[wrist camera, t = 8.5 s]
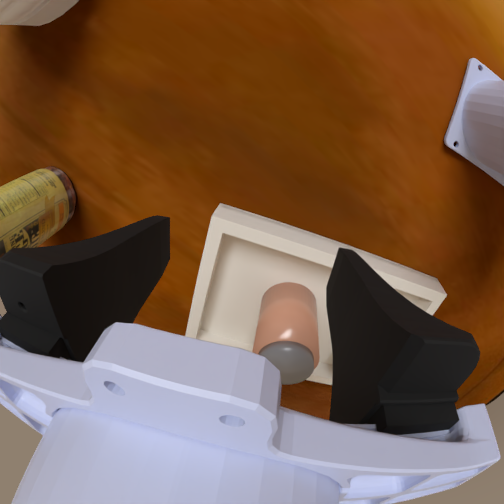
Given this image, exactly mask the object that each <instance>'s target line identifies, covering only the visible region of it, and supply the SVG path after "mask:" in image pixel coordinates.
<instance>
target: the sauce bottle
mask: <svg viewBox="0 0 504 504" xmlns="http://www.w3.org/2000/svg"><path fill="white" fill-rule="evenodd" d="M75 204H76V193H75V191H74V190H73V186H72V183H71V181H70V180H69V178H68V177H67V175H66V174H65V173H64V172H63V171H61V170H60V169H57V168H55V167H46V168H44V169H38V170H36V171H33V172H31V173H29V174H27V175H24V176H22V177H20V178H18V179H16V180H14V181H12V182H9V183H7V184H5V185H3V186H1V187H0V258H1V257H2V256H3V255H4V254H6V253H7V252H8V251H9V250H10V249H12V248H36V247H38V246H39V245H40V244H42V243H43V242H44V241H45V240H47V239H48V238H49V237H51V236H52V235H53V234H55V233H56V232H57V231H59V230H60V229H61V228H62V227H63V226H64V225H65V224H66V223H68V221H69V220H70V219H71V218H72V216H73V213H74V210H75Z"/></svg>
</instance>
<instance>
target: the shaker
mask: <svg viewBox="0 0 504 504" xmlns="http://www.w3.org/2000/svg"><path fill="white" fill-rule="evenodd" d="M252 352H253V353H256V354H258V355H261V356H264V357H265V358H266V359H268V360H269V361H270V362H271V363H272V364H273V365H274V366H275V367H276V368H277V369H278V370H279V371H280V375H281V384H295V383H299V382H302V381H304V380H306V379H307V378H309V377H310V376H311V374H312V373H313V371H314V369H315V368H316V367H317V365H318V363H319V359H320V356H319V336H318V319H317V304H316V298H315V296H314V294H313V293H312V292H311V291H310V290H309V289H308V288H307V287H305V286H303V285H301V284H298V283H293V282H284V283H279V284H276V285H274V286H272V287H270V288H269V289H268V290H267V291H266V292H265V293H264V295H263V297H262V300H261V305H260V311H259V317H258V323H257V328H256V334H255V340H254V346H253V351H252Z"/></svg>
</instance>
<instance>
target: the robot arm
mask: <svg viewBox="0 0 504 504" xmlns="http://www.w3.org/2000/svg"><path fill="white" fill-rule="evenodd" d="M478 65H479V67H480V70H479V69H478ZM455 141H456V146H455V147H454V145H453V144H454V142H455ZM444 143H445V145H446V146H447V147H449V148H451V149H452V150H454V151H455V152H457V153H458V154H460V155H461V156H463V157H464V158H466V159H467V160H469V161H470V162H472V163H473V164H475V165H476V166H477V167H479V168H480V169H482V170H483V171H484V172H486V173H487V174H488V175H490V176H491V177H492V178H494V179H495V180H496V181H498V182H499V183H500V184H501V185H503V186H504V81H502V80H501V79H500V78H499V77H498V76H497V75H495V74H494V73H493V72H492V71H491V70H489V69H488V68H487V67H486V66H485V65H483V64H482V63H481V62H480V61H478V60H477V59H475V58H471V59H469V62H468V66H467V69H466V73H465V77H464V80H463V84H462V87H461V90H460V94H459V97H458V100H457V103H456V106H455V109H454V112H453V115H452V118H451V121H450V124H449V127H448V129H447V132H446V135H445V137H444ZM169 259H170V217H163V216H152V217H149V218H146V219H143V220H141V221H138V222H135V223H133V224H130V225H128V226H125V227H123V228H120V229H117V230H114V231H111V232H109V233H106V234H103V235H100V236H97V237H94V238H90V239H86V240H82V241H78V242H73V243H68V244H63V245H56V246H48V247H36V248H12V249H10V250H9V251H8V252H7V253H6V254H4V255H3V256H2V257H1V258H0V297H1V299H2V302H3V304H4V306H5V309H6V311H7V313H6V314H5V315H4V316H3V317H2V316H1V315H0V403H1V404H2V405H3V406H4V407H6V408H7V409H8V410H9V411H11V412H12V413H13V414H14V415H16V416H17V417H18V418H20V419H21V420H22V421H24V422H25V423H26V424H28V425H29V426H30V427H32V428H33V429H35V430H36V431H37V432H39V433H40V434H42V435H43V437H42V439H41V441H40V443H39V445H38V447H37V449H36V451H35V453H34V455H33V457H32V459H31V461H30V463H29V465H28V467H27V469H26V471H25V474H24V476H23V478H22V480H21V482H20V485H19V487H18V489H17V492H16V494H15V496H14V499H13V501H12V503H11V504H393V503H397V502H402V501H406V500H410V499H414V498H418V497H422V496H426V495H430V494H434V493H437V492H441V491H444V490H448V489H451V488H455V487H457V486H458V485H460V484H462V483H464V482H466V481H467V480H469V479H471V478H472V477H474V476H476V475H477V474H479V473H481V472H482V471H484V470H485V469H487V468H488V467H489V466H491V465H493V464H494V463H496V462H497V461H499V459H500V453H499V449H498V446H497V442H496V438H495V435H494V432H493V428H492V425H491V422H490V419H489V416H488V413H487V410H486V407H485V404H476V405H468V406H463V407H461V408H459V409H457V410H456V407H455V403H454V402H456V401H457V400H458V398H459V397H458V394H457V391H456V390H457V389H458V388H459V387H460V386H461V385H462V383H463V382H464V381H465V380H466V379H467V378H468V377H469V375H470V374H471V373H472V372H473V370H474V369H475V367H476V365H477V363H478V361H479V358H480V351H479V348H478V346H477V344H476V342H475V340H474V338H473V336H472V334H470V333H468V332H465V331H463V330H461V329H458V328H456V327H454V326H451V325H449V324H447V323H445V322H443V321H441V320H439V319H437V318H436V317H434V316H432V315H430V314H429V313H427V312H425V311H424V310H422V309H421V308H419V307H418V306H416V305H415V304H413V303H412V302H410V301H409V300H408V299H406V298H405V297H404V296H402V295H401V294H400V293H399V292H397V291H396V290H395V289H394V288H393V287H391V286H390V285H389V284H388V283H387V282H386V281H385V280H384V279H383V278H382V277H381V276H380V275H379V274H377V273H376V272H375V271H374V270H373V269H372V268H371V267H370V266H369V265H368V264H367V263H366V262H365V260H364V259H362V258H361V257H360V256H359V255H358V254H357V253H356V252H355V251H354V250H351V249H346V248H340V247H339V249H338V252H337V255H336V258H335V262H334V265H333V268H332V271H331V274H330V277H329V280H328V283H327V286H326V308H327V315H328V322H329V329H330V336H331V344H332V355H333V376H332V397H331V409H330V419H329V420H326V419H322V418H318V417H315V416H311V415H308V414H304V413H301V412H298V411H294V410H291V409H288V408H285V407H282V406H280V398H281V386H282V384H281V375H280V371H279V370H278V369H277V368H276V367H275V366H274V365H273V364H272V363H271V362H270V361H269V360H268V359H266V358H265V357H264V356H261V355H258V354H256V353H253V352H250V351H247V350H245V349H242V348H238V347H232V346H227V345H222V344H217V343H213V342H208V341H203V340H199V339H195V338H190V337H186V336H182V335H178V334H174V333H170V332H166V331H162V330H158V329H154V328H150V327H147V326H143V325H139V324H133V322H134V319H135V317H136V316H137V314H138V312H139V310H140V309H141V307H142V306H143V304H144V303H145V301H146V300H147V298H148V296H149V295H150V293H151V292H152V290H153V289H154V287H155V286H156V284H157V283H158V281H159V280H160V278H161V276H162V275H163V272H164V270H165V268H166V266H167V264H168V262H169Z"/></svg>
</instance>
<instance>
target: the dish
mask: <svg viewBox="0 0 504 504" xmlns="http://www.w3.org/2000/svg"><path fill="white" fill-rule="evenodd" d="M339 247H340V248H346V249H351V250H354V251H355V252H356V253H357V254H358V255H359V256H360V257H361V258H362V259H364V260H365V262H366V263H367V264H368V265H369V266H370V267H371V268H372V269H373V270H374V271H375V272H376V273H377V274H379V275H380V276H381V277H382V278H383V279H384V280H385V281H386V282H387V283H388V284H389V285H390V286H391V287H393V288H394V289H395V290H396V291H397V292H399V293H400V294H401V295H402V296H404V297H405V298H406V299H408V300H409V301H410V302H412V303H413V304H415V305H416V306H418V307H419V308H421V309H422V310H424V311H425V312H427V313H429V314H430V315H433V314H434V313H435V311H436V310H437V309H438V307H439V306H440V304H441V303H442V302H443V300H444V299H445V297H446V296H447V294H446V292H445V291H444V289H443V287H442V286H441V284H440V283H439V281H438V279H437V278H434V277H432V276H429V275H427V274H424V273H422V272H419V271H416V270H414V269H411V268H409V267H406V266H403V265H401V264H398V263H395V262H393V261H390V260H387V259H385V258H382V257H379V256H376V255H374V254H371V253H368V252H365V251H363V250H360V249H357V248H354V247H352V246H349V245H346V244H343V243H340V242H337V241H335V240H332V239H329V238H326V237H323V236H320V235H317V234H314V233H311V232H308V231H305V230H302V229H299V228H297V227H294V226H291V225H288V224H284V223H281V222H278V221H275V220H272V219H269V218H266V217H263V216H260V215H257V214H254V213H251V212H247V211H244V210H241V209H238V208H235V207H231V206H228V205H225V204H222V203H220V204H219V206H218V207H217V209H216V210H215V212H214V213H213V215H212V218H211V222H210V226H209V230H208V234H207V238H206V242H205V247H204V251H203V255H202V260H201V264H200V269H199V273H198V278H197V282H196V287H195V291H194V296H193V301H192V306H191V310H190V315H189V320H188V325H187V330H186V335H185V336H186V337H190V338H195V339H199V340H203V341H208V342H213V343H217V344H222V345H227V346H232V347H238V348H242V349H245V350H247V351H250V352H252V351H253V346H254V340H255V334H256V328H257V323H258V317H259V311H260V305H261V300H262V297H263V295H264V293H265V292H266V291H267V290H268V289H269V288H270V287H272V286H274V285H276V284H279V283H284V282H293V283H298V284H301V285H303V286H305V287H307V288H308V289H309V290H310V291H311V292H312V293H313V294H314V296H315V298H316V304H317V319H318V336H319V356H320V359H319V363H318V365H317V367H316V368H315V369H314V371H313V373H312V374H311V376H310V377H309V378H307V379H306V380H309V381H314V382H319V383H324V384H329V385H332V376H333V365H332V360H333V355H332V344H331V336H330V329H329V322H328V315H327V308H326V286H327V283H328V280H329V277H330V274H331V271H332V268H333V265H334V262H335V258H336V255H337V252H338V249H339Z"/></svg>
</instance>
